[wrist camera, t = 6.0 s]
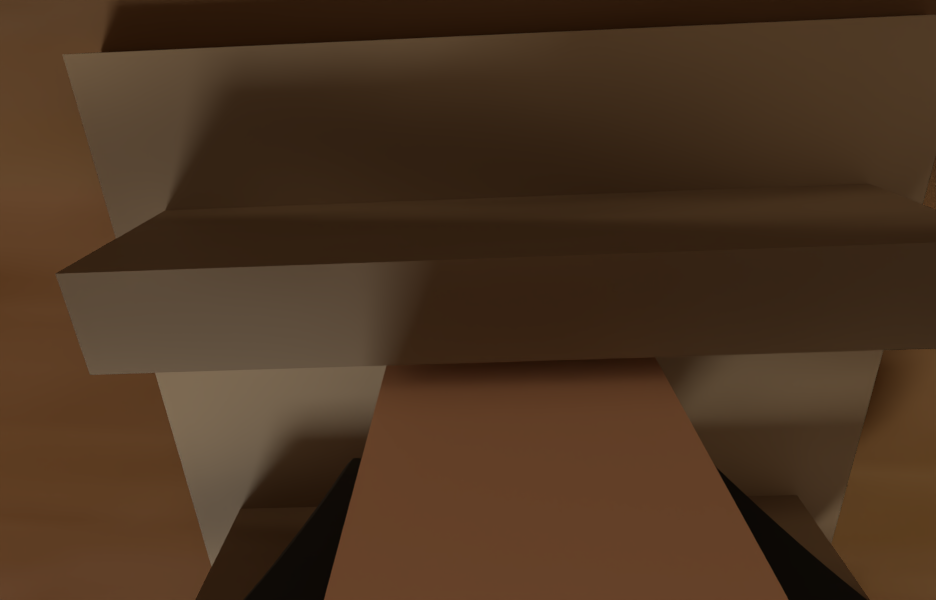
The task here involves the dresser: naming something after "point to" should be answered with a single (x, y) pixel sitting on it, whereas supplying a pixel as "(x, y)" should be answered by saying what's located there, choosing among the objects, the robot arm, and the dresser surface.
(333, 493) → the robot arm
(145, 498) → the dresser surface
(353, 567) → the terracotta plug
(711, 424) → the cable comb
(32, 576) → the dresser surface
